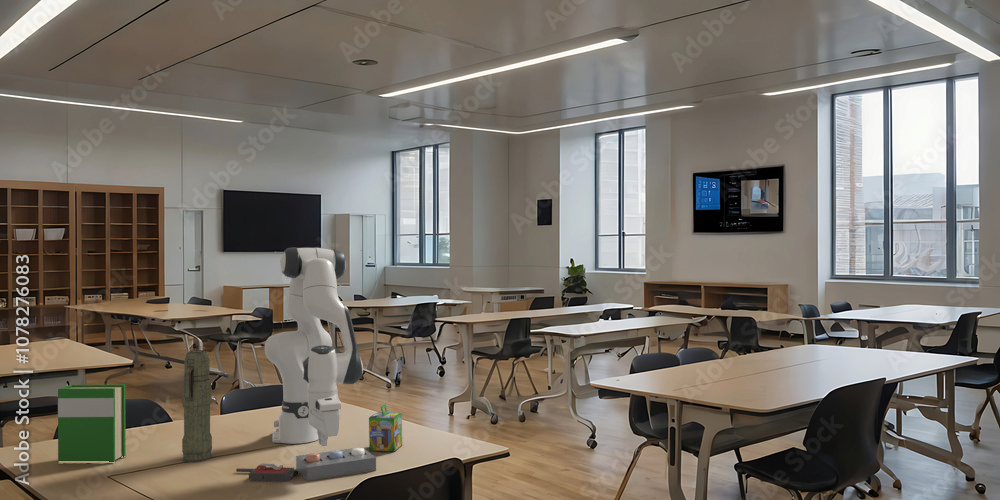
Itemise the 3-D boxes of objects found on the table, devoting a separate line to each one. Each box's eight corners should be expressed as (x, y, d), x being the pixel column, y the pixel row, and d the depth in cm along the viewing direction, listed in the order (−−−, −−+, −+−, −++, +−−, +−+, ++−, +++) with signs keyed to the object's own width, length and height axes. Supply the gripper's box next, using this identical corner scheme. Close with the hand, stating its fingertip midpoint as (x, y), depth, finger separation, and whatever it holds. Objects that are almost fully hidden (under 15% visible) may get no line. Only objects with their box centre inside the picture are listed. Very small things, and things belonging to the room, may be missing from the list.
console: (296, 468, 225) (296, 455, 225) (361, 459, 235) (361, 447, 235) (307, 481, 212) (307, 467, 212) (376, 470, 222) (376, 457, 222)
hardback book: (125, 457, 239) (125, 384, 239) (113, 463, 231) (113, 388, 231) (71, 457, 238) (71, 384, 239) (58, 464, 231) (58, 388, 231)
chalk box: (394, 452, 243) (394, 408, 243) (368, 451, 245) (368, 407, 245) (403, 445, 252) (403, 402, 252) (378, 444, 254) (378, 401, 254)
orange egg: (304, 464, 221) (304, 454, 221) (318, 462, 223) (318, 452, 223) (308, 467, 217) (308, 457, 217) (321, 465, 219) (321, 455, 219)
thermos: (175, 463, 231) (175, 353, 231) (191, 453, 243) (191, 348, 243) (202, 463, 231) (202, 353, 231) (218, 453, 243) (217, 348, 243)
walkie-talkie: (301, 474, 220) (237, 473, 222) (301, 460, 220) (237, 458, 222) (290, 483, 212) (224, 482, 213) (290, 468, 212) (224, 467, 213)
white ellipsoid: (349, 458, 228) (349, 448, 228) (362, 456, 230) (362, 447, 230) (353, 461, 224) (353, 451, 224) (366, 459, 226) (366, 450, 226)
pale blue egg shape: (327, 461, 224) (327, 451, 224) (340, 459, 226) (340, 449, 226) (331, 464, 221) (331, 454, 221) (344, 462, 223) (344, 452, 223)
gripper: (303, 395, 229) (303, 439, 229) (322, 406, 211) (322, 454, 211) (323, 393, 232) (323, 436, 232) (343, 404, 215) (343, 451, 214)
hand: (322, 445), depth 222 cm, fingers closed
